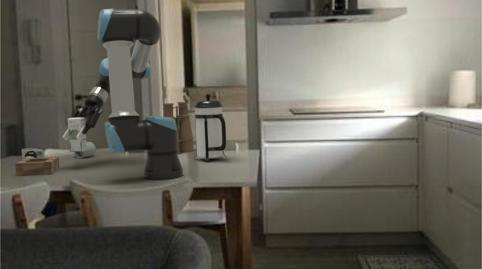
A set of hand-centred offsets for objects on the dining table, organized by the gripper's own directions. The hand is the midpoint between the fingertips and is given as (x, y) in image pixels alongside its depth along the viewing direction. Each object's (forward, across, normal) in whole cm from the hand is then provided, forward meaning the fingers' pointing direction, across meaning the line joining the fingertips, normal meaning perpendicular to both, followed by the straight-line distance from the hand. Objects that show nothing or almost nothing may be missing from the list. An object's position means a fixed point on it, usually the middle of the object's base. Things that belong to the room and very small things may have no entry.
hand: (71, 139), depth 230 cm
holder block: (+16, +10, -2) cm, 19 cm away
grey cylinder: (-11, +22, -29) cm, 38 cm away
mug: (+4, +33, -14) cm, 36 cm away
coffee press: (-19, -45, -38) cm, 62 cm away
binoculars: (-30, -15, -48) cm, 59 cm away
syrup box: (+2, 0, -7) cm, 7 cm away
